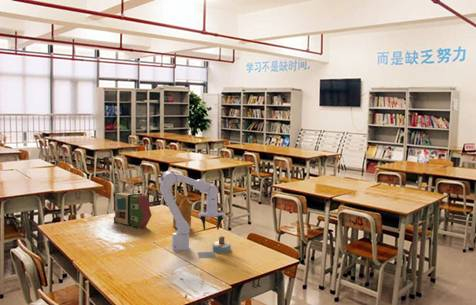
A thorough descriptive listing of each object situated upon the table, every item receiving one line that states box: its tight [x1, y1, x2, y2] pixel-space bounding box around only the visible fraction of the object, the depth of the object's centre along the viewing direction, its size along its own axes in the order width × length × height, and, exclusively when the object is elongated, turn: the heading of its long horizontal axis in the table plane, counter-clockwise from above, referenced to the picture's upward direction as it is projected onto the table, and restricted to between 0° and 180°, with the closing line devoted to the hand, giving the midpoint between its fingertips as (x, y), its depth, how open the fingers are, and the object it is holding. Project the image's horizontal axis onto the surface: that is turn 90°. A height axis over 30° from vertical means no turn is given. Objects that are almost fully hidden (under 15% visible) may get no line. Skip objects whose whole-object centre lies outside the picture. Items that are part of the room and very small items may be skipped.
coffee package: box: [172, 192, 192, 229], centre depth 283 cm, size 10×12×22 cm
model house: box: [113, 191, 153, 230], centre depth 283 cm, size 21×9×30 cm
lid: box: [212, 236, 231, 248], centre depth 239 cm, size 9×9×4 cm
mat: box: [197, 251, 217, 259], centre depth 231 cm, size 9×9×1 cm
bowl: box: [211, 243, 232, 254], centre depth 240 cm, size 10×10×3 cm
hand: (211, 229), depth 245 cm, fingers open, 7 cm apart
